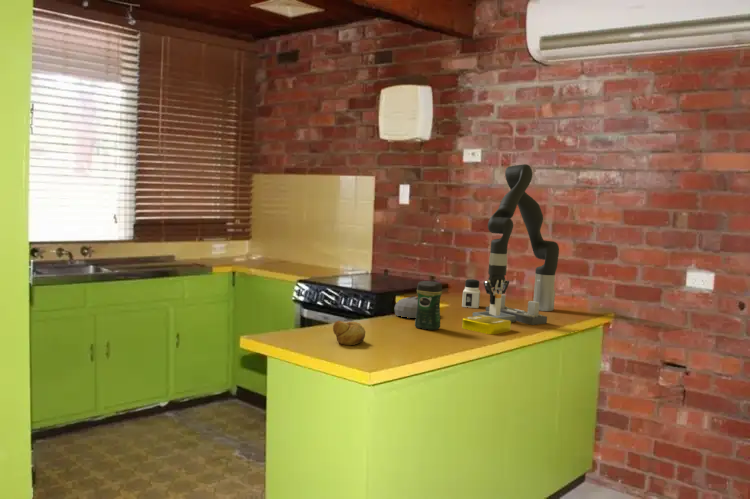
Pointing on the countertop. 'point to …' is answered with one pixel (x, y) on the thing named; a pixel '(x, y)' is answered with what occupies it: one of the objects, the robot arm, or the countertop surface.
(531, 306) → the block
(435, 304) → the coffee jar
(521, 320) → the fuse holder
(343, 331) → the bread roll
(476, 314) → the tray
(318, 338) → the countertop surface
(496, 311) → the block
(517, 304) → the countertop surface
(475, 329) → the element tile
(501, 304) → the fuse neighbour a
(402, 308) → the soft grey pack
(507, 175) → the robot arm
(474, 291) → the container
